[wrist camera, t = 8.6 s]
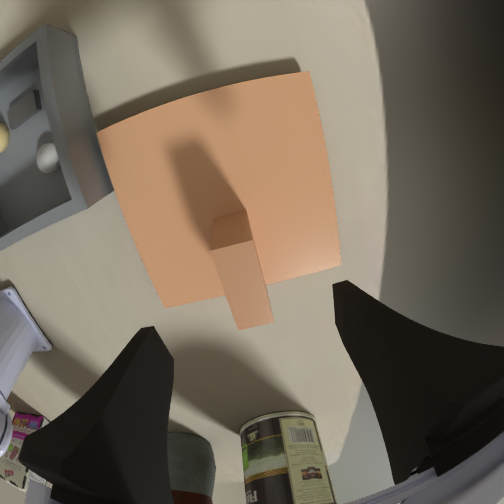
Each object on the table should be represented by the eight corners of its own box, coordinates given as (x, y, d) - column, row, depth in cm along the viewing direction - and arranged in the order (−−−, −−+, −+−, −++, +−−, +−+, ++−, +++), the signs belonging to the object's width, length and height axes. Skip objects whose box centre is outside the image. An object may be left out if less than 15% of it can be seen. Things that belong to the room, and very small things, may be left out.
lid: (168, 297, 20) (153, 352, 15) (105, 131, 15) (56, 138, 9) (334, 256, 20) (367, 302, 15) (302, 75, 14) (337, 54, 9)
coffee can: (241, 446, 33) (248, 529, 20) (237, 414, 28) (245, 523, 15) (310, 438, 33) (329, 517, 21) (323, 404, 29) (352, 505, 16)
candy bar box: (32, 425, 32) (13, 485, 17) (15, 410, 30) (-7, 472, 15) (62, 430, 32) (43, 502, 17) (44, 415, 29) (20, 489, 15)
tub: (11, 238, 16) (-16, 260, 13) (-23, 116, 11) (-54, 122, 8) (114, 189, 16) (87, 208, 13) (76, 36, 11) (46, 23, 7)
